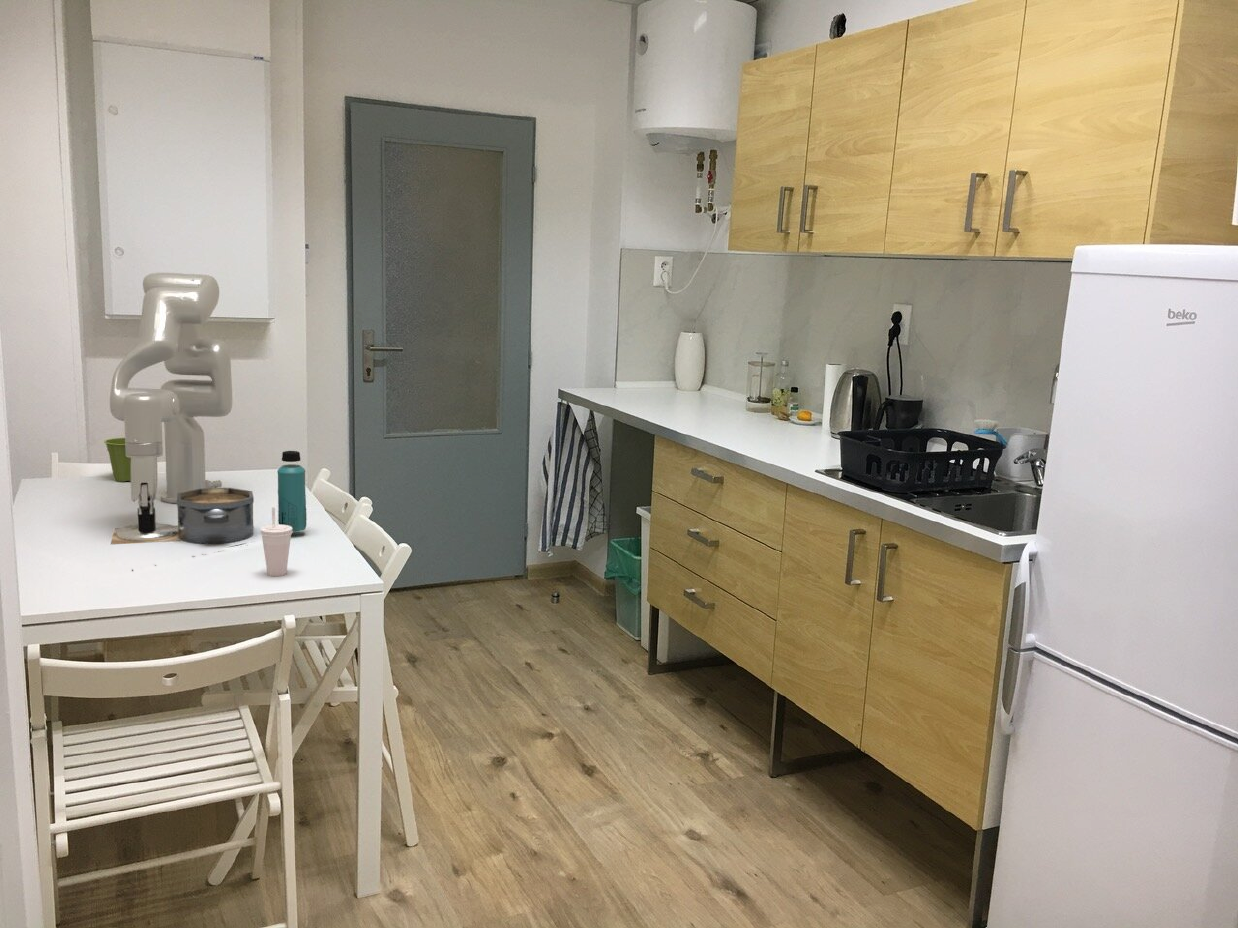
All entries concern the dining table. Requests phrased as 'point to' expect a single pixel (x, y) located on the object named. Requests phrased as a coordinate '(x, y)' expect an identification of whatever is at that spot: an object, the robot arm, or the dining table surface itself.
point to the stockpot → (215, 515)
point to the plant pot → (119, 459)
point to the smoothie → (276, 546)
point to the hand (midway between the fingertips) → (147, 527)
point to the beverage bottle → (292, 493)
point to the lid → (158, 534)
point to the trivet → (118, 541)
